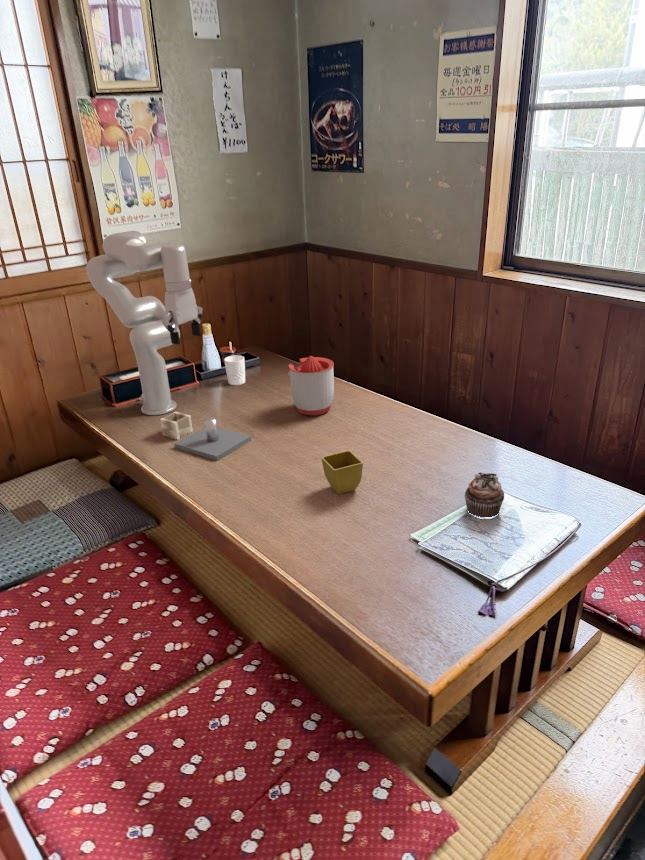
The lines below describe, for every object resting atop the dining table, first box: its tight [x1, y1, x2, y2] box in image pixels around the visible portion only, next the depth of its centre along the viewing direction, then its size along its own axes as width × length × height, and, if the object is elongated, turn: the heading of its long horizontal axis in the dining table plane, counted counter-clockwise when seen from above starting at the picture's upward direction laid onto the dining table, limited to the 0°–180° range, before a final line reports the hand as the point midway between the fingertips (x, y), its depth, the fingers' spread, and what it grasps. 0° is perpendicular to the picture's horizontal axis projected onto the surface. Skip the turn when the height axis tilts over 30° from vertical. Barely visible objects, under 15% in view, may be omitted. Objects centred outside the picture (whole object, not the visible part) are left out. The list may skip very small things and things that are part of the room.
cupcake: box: [464, 472, 505, 517], centre depth 159 cm, size 10×10×10 cm
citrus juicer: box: [287, 355, 335, 416], centre depth 221 cm, size 16×17×20 cm
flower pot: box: [321, 450, 364, 495], centre depth 172 cm, size 9×9×9 cm
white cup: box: [223, 354, 246, 386], centre depth 250 cm, size 8×8×10 cm
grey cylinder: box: [204, 417, 219, 442], centre depth 201 cm, size 4×4×7 cm
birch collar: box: [160, 411, 194, 441], centre depth 210 cm, size 7×7×6 cm
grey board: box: [174, 426, 252, 462], centre depth 203 cm, size 18×16×2 cm
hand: (186, 339), depth 203 cm, fingers open, 9 cm apart
